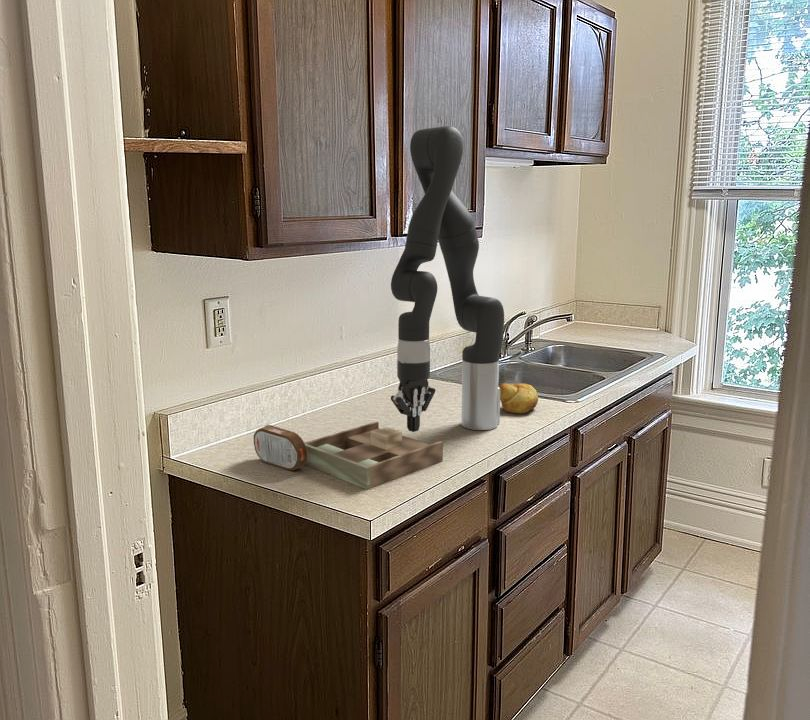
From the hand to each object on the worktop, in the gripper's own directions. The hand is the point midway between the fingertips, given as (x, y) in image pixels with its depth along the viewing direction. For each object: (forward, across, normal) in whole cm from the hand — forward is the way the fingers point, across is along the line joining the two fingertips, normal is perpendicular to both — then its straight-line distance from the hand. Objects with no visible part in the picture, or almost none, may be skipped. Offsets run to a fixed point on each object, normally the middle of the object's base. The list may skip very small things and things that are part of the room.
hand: (413, 430), depth 177 cm
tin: (+5, +29, -13) cm, 32 cm away
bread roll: (+4, -44, -1) cm, 44 cm away
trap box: (+4, +13, 0) cm, 14 cm away
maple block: (+1, +9, 0) cm, 9 cm away
